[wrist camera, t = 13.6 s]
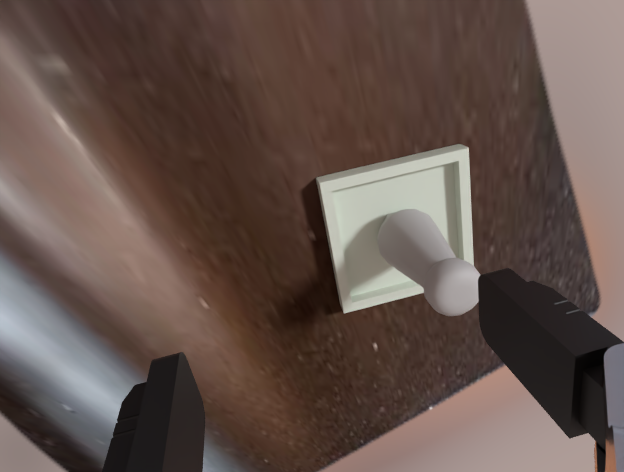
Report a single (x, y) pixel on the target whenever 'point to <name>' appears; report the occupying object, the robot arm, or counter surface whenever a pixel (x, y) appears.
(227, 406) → the counter surface
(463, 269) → the salt shaker
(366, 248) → the tray
